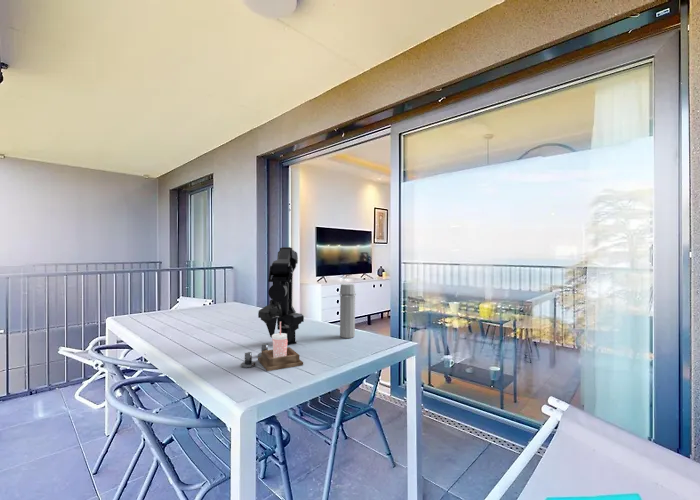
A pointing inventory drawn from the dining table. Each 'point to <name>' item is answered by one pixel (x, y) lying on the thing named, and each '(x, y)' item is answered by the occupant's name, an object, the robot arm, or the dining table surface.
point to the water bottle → (347, 310)
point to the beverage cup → (279, 344)
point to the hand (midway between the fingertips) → (280, 339)
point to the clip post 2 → (263, 348)
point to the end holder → (279, 360)
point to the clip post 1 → (248, 361)
